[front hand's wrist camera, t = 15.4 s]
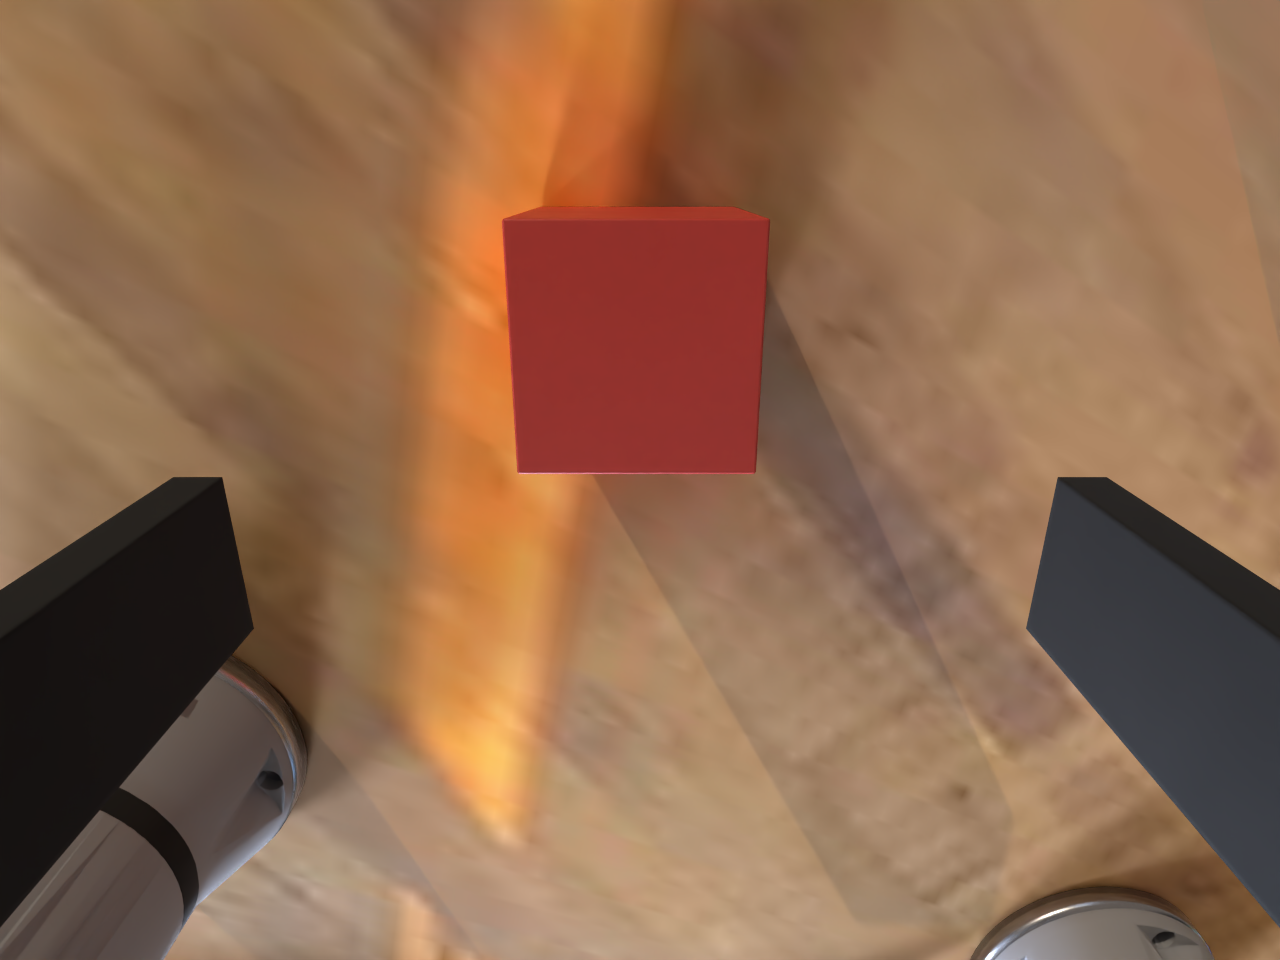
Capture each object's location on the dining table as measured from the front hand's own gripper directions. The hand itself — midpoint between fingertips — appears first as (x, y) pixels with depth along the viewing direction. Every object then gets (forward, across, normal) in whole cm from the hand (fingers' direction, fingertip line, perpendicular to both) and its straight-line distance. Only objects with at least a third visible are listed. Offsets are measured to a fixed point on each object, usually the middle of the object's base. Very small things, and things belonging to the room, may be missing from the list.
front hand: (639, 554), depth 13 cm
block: (+26, 0, 0) cm, 26 cm away
